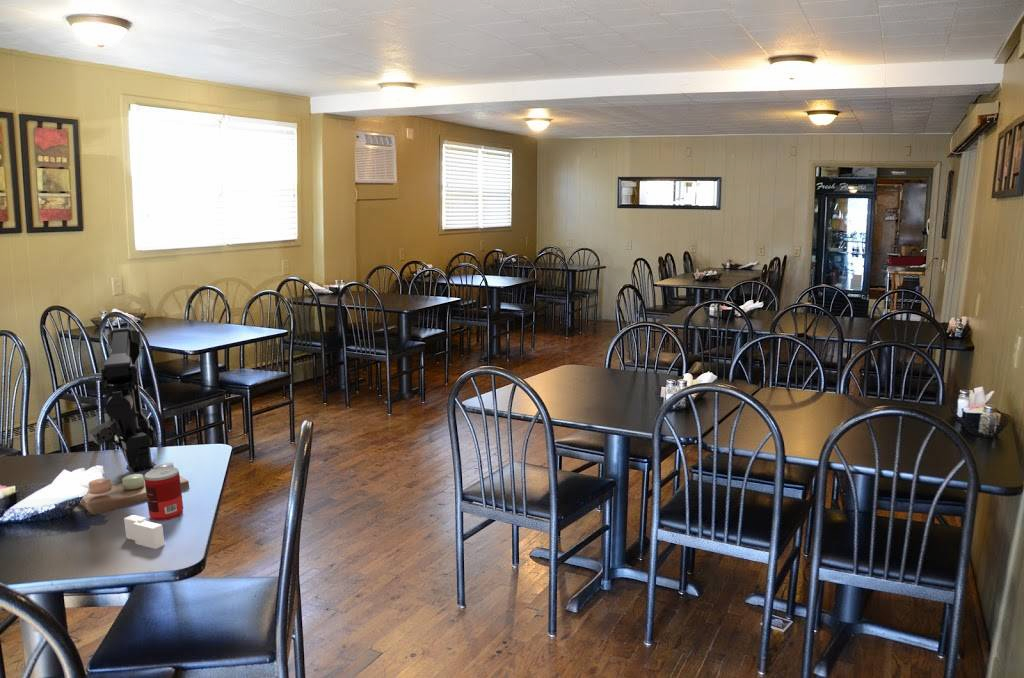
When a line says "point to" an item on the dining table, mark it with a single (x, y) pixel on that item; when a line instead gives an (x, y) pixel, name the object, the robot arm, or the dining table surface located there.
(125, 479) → the button sage
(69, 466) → the dining table surface
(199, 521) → the dining table surface
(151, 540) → the white stepped block
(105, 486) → the button terracotta
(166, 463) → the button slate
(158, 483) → the canned food
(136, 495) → the panel
